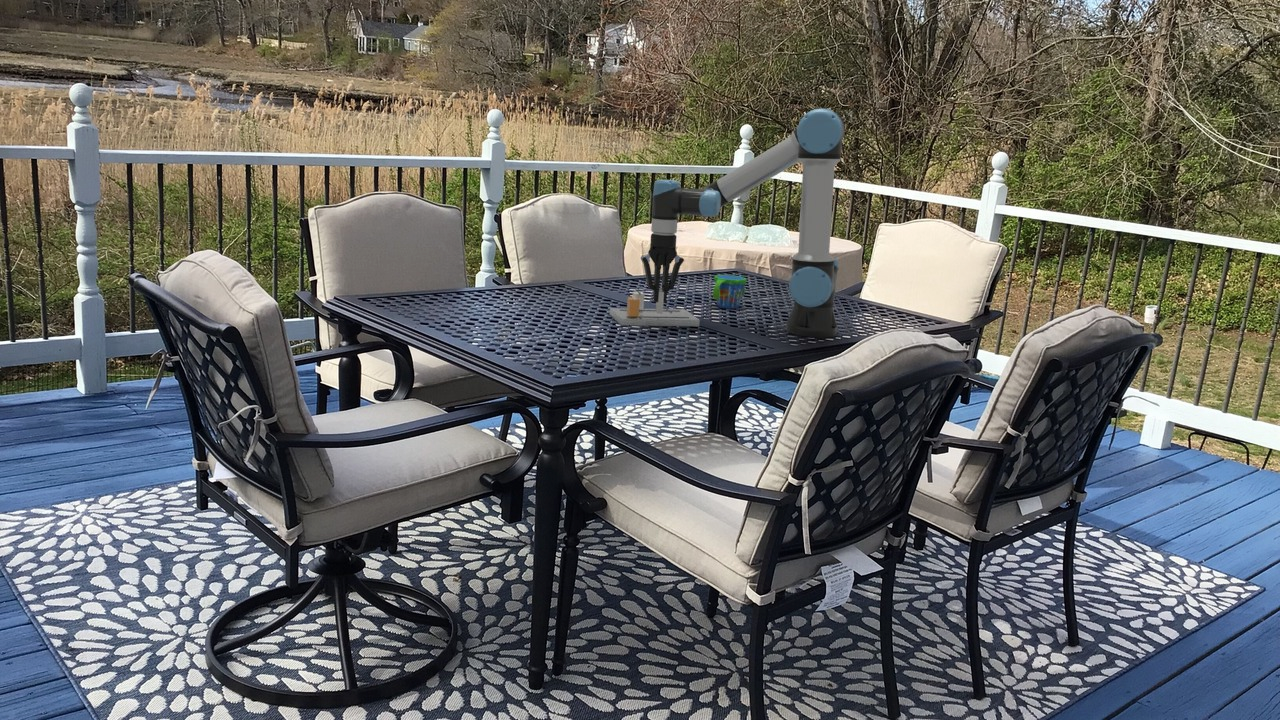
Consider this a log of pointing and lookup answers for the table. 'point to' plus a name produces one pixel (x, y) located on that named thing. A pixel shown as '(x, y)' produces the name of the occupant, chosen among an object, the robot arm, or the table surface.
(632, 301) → the block
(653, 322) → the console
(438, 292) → the table surface
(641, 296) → the block
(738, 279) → the snack cup
